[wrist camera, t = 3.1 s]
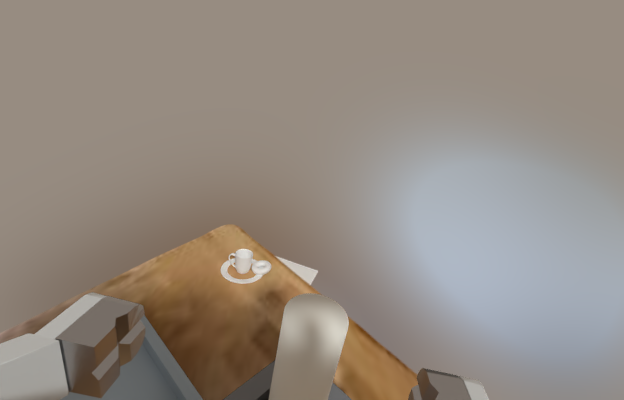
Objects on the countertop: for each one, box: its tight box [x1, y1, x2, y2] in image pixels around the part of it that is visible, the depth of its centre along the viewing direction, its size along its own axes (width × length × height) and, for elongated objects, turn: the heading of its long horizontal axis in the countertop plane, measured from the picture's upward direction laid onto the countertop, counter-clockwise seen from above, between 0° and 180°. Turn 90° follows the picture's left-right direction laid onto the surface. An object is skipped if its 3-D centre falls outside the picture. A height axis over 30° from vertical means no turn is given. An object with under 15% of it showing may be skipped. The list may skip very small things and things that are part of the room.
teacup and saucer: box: [221, 249, 271, 284], centre depth 54 cm, size 9×8×4 cm
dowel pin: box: [269, 293, 349, 400], centre depth 26 cm, size 5×5×18 cm
